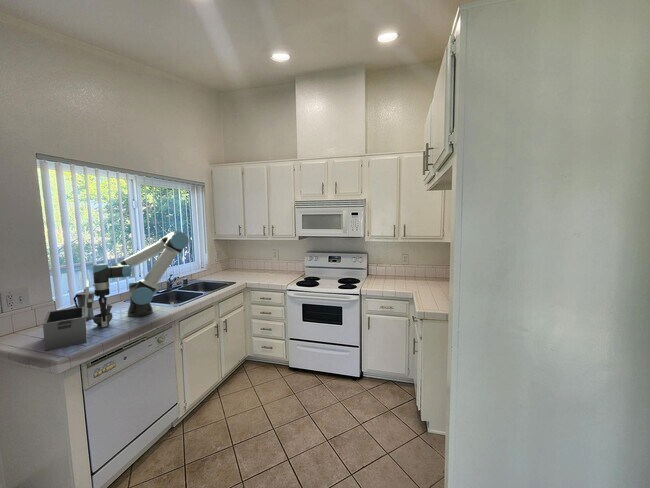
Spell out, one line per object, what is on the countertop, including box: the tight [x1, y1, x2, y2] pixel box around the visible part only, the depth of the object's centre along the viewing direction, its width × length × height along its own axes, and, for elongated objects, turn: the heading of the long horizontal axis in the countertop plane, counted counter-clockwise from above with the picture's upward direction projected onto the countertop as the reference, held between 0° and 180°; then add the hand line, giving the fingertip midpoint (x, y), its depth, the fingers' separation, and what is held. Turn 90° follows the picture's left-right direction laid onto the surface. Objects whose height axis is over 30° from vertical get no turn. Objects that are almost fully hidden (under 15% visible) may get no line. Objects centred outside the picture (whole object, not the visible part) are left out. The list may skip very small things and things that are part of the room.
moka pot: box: [73, 288, 95, 321], centre depth 197 cm, size 10×15×20 cm, turn 2°
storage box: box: [42, 306, 88, 352], centre depth 162 cm, size 16×30×14 cm, turn 39°
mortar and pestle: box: [92, 304, 113, 329], centre depth 185 cm, size 11×9×12 cm
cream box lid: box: [84, 278, 93, 317], centre depth 166 cm, size 16×34×3 cm
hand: (104, 324), depth 185 cm, fingers closed on mortar and pestle, 9 cm apart
